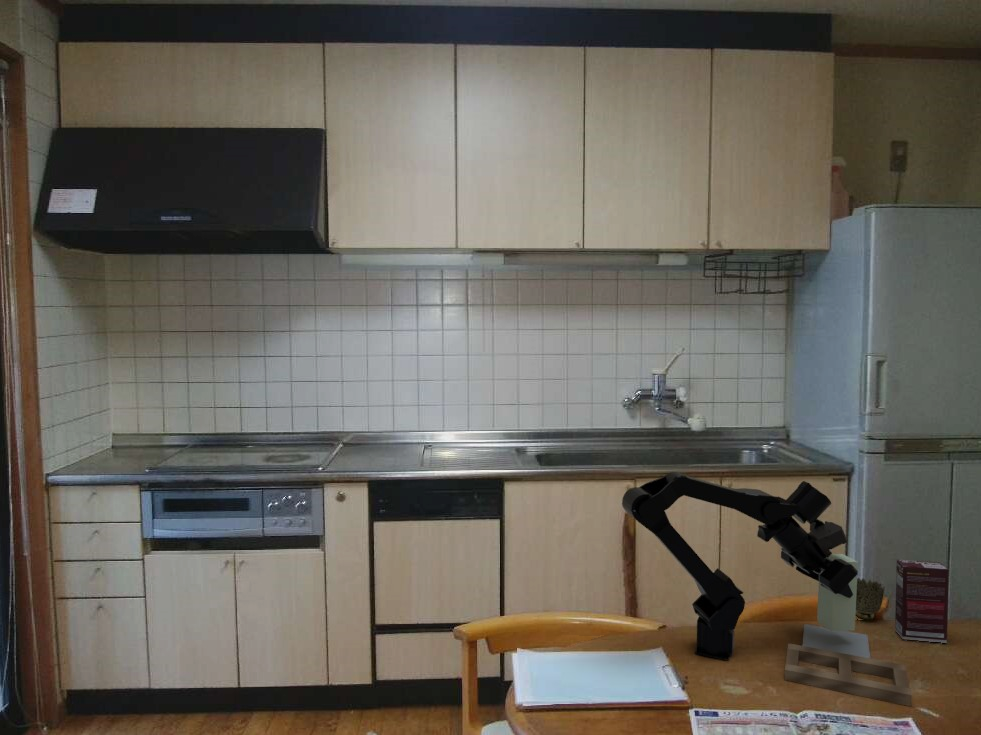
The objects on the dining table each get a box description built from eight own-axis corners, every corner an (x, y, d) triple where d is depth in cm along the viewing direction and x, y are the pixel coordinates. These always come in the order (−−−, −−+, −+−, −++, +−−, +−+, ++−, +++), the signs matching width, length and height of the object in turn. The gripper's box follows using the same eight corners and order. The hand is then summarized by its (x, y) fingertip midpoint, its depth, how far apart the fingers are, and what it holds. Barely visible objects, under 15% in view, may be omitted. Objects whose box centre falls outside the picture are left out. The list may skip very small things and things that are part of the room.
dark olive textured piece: (888, 626, 150) (889, 590, 150) (851, 623, 152) (853, 588, 152) (876, 613, 158) (877, 578, 157) (841, 610, 159) (842, 576, 159)
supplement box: (938, 634, 146) (940, 561, 146) (947, 645, 142) (950, 569, 141) (893, 630, 148) (895, 558, 148) (901, 640, 144) (903, 565, 143)
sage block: (831, 630, 138) (834, 562, 138) (817, 620, 143) (820, 554, 143) (854, 630, 139) (857, 561, 138) (839, 620, 144) (842, 554, 143)
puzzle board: (784, 680, 127) (784, 669, 127) (788, 652, 138) (788, 643, 138) (910, 706, 118) (911, 695, 118) (904, 675, 129) (904, 664, 129)
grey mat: (802, 651, 139) (802, 646, 139) (804, 628, 149) (804, 623, 149) (870, 664, 133) (870, 659, 133) (867, 639, 144) (867, 634, 144)
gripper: (850, 523, 130) (901, 579, 132) (795, 499, 149) (842, 548, 151) (809, 566, 130) (861, 621, 132) (760, 536, 148) (806, 585, 150)
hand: (842, 591), depth 141 cm, fingers closed on sage block, 5 cm apart
